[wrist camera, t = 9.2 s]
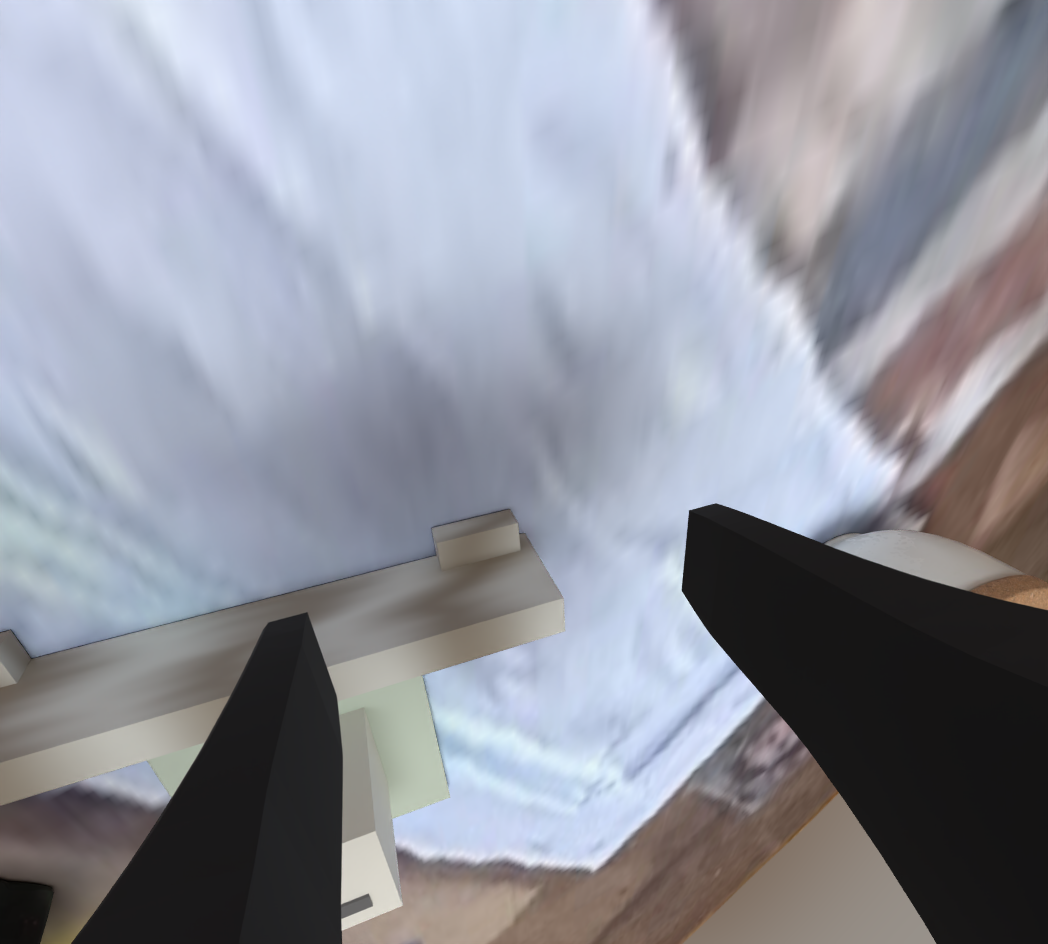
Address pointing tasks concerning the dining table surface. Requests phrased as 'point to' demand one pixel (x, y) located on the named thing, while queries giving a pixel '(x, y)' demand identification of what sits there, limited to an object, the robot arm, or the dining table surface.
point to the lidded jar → (945, 564)
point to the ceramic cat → (23, 912)
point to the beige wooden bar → (230, 637)
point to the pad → (398, 738)
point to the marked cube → (365, 827)
